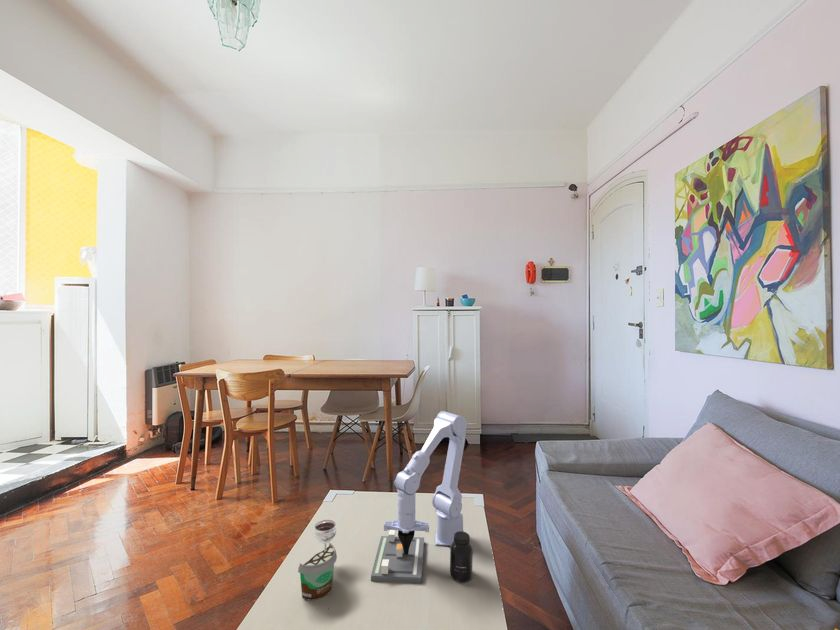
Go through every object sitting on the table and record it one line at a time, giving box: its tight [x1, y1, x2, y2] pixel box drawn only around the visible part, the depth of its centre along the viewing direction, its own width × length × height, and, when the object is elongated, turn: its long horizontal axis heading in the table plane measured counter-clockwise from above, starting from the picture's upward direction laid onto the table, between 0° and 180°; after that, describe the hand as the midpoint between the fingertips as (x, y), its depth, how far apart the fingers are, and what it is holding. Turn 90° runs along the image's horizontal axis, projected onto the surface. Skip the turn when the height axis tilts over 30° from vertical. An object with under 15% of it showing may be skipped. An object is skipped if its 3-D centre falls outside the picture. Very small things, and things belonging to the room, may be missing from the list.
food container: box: [297, 542, 338, 601], centre depth 106 cm, size 12×6×10 cm, turn 148°
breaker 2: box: [387, 530, 396, 542], centre depth 128 cm, size 2×3×2 cm, turn 177°
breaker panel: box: [370, 535, 425, 584], centre depth 120 cm, size 15×20×2 cm
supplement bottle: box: [449, 531, 474, 583], centre depth 113 cm, size 7×7×12 cm
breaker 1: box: [381, 559, 389, 574], centre depth 112 cm, size 2×3×2 cm, turn 177°
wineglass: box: [313, 519, 337, 550], centre depth 118 cm, size 7×7×12 cm
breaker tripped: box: [396, 544, 403, 557], centre depth 120 cm, size 2×3×2 cm, turn 177°
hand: (406, 552), depth 120 cm, fingers closed
